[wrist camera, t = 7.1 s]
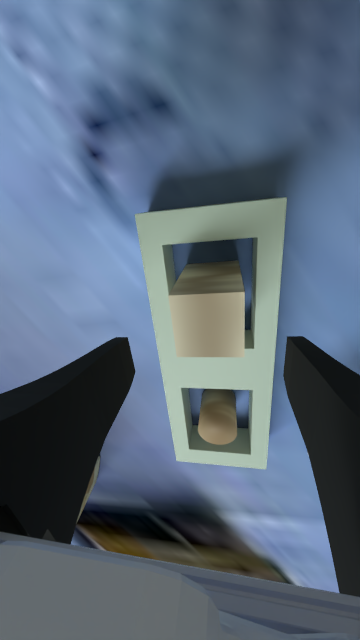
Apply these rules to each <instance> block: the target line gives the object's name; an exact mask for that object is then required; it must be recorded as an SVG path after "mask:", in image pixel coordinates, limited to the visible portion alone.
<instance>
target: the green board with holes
mask: <svg viewBox="0 0 360 640" xmlns="http://www.w3.org/2000/svg"><path fill="white" fill-rule="evenodd" d="M286 204H287V198H283V197H277V198H268V199H259V200H250V201H241V202H232V203H223V204H214V205H205V206H196V207H187V208H178V209H169V210H160V211H151V212H144V213H139V214H135V219H136V225H137V230H138V236H139V242H140V248H141V254H142V260H143V266H144V272H145V278H146V284H147V289H148V295H149V301H150V307H151V313H152V319H153V325H154V331H155V337H156V342H157V348H158V354H159V360H160V366H161V372H162V378H163V384H164V390H165V395H166V401H167V407H168V413H169V419H170V425H171V431H172V437H173V443H174V448H175V454H176V460H177V461H183V462H194V463H204V464H215V465H225V466H236V467H246V468H257V469H266V466H267V453H268V440H269V427H270V414H271V400H272V387H273V374H274V361H275V348H276V335H277V322H278V309H279V295H280V282H281V269H282V256H283V243H284V230H285V217H286ZM242 238H253V252H252V294H251V330H245V347H244V357H177V355H176V348H175V341H174V333H173V326H172V319H171V312H170V305H169V298H168V295H169V293H170V292H171V290H172V288H173V286H174V285H175V283H176V276H175V267H174V259H173V250H172V244H181V243H193V242H205V241H217V240H230V239H242ZM188 388H205V389H233V390H249V422H248V428H237V436H236V438H235V440H233V441H232V442H230V443H228V444H224V445H216V444H212V443H209V442H207V441H205V440H204V439H203V438H202V437H201V436H200V435H199V432H198V425H193V424H192V415H191V407H190V398H189V389H188Z"/></svg>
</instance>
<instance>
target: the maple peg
mask: <svg viewBox="0 0 360 640" xmlns="http://www.w3.org/2000/svg"><path fill="white" fill-rule="evenodd" d="M168 298H169V305H170V312H171V319H172V326H173V333H174V341H175V348H176V355H177V357H244V347H245V291H244V286H243V281H242V276H241V271H240V266H239V261H238V260H237V261H223V262H209V263H195V264H186V266H185V268H184V269H183V271H182V273H181V275H180V276H179V278H178V280H177V281H176V283H175V285H174V286H173V288H172V290H171V292H170V293H169V295H168Z"/></svg>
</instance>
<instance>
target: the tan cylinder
mask: <svg viewBox="0 0 360 640" xmlns="http://www.w3.org/2000/svg"><path fill="white" fill-rule="evenodd" d="M198 432H199V435H200V436H201V437H202V438H203V439H204V440H205V441H207V442H209V443H212V444H216V445H224V444H228V443H230V442H232V441H233V440H235V438H236V436H237V419H236V398H235V395H234V393H233V392H232V391H231V390H230V389H206V390H205V391H204V392H203V394H202V400H201V408H200V416H199V424H198Z"/></svg>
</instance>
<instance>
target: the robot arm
mask: <svg viewBox="0 0 360 640" xmlns="http://www.w3.org/2000/svg"><path fill="white" fill-rule="evenodd" d="M134 375H135V368H134V363H133V359H132V354H131V350H130V346H129V341H128V337H116V338H114V339H111V340H110V341H108V342H106V343H104V344H102V345H101V346H99V347H97V348H96V349H94V350H92V351H91V352H89V353H87V354H86V355H84V356H82V357H80V358H79V359H77V360H75V361H73V362H71V363H70V364H68V365H66V366H64V367H62V368H61V369H59V370H57V371H55V372H53V373H51V374H48V375H46V376H44V377H42V378H40V379H38V380H35V381H33V382H31V383H28V384H25V385H23V386H20V387H18V388H15V389H13V390H10V391H7V392H5V393H2V394H0V640H360V375H358V374H357V373H355V372H354V371H352V370H350V369H349V368H347V367H346V366H344V365H343V364H341V363H340V362H338V361H337V360H335V359H334V358H332V357H331V356H330V355H328V354H327V353H325V352H324V351H323V350H321V349H320V348H319V347H317V346H316V345H314V344H313V343H312V342H310V341H309V340H307V339H306V338H304V337H303V336H297V337H287V344H286V354H285V364H284V375H283V376H284V381H285V386H286V390H287V395H288V398H289V401H290V404H291V407H292V409H293V412H294V415H295V418H296V420H297V423H298V426H299V429H300V431H301V434H302V437H303V440H304V442H305V445H306V448H307V453H308V455H309V458H310V462H311V466H312V470H313V474H314V478H315V482H316V486H317V490H318V494H319V498H320V503H321V507H322V511H323V515H324V520H325V525H326V529H327V534H328V538H329V543H330V548H331V552H332V557H333V562H334V567H335V572H336V577H337V582H338V587H339V592H340V593H335V592H329V591H324V590H318V589H313V588H307V587H302V586H296V585H290V584H285V583H279V582H274V581H268V580H263V579H257V578H252V577H246V576H241V575H235V574H230V573H224V572H219V571H213V570H208V569H202V568H197V567H191V566H186V565H180V564H175V563H169V562H164V561H158V560H153V559H147V558H142V557H136V556H131V555H125V554H120V553H114V552H109V551H103V550H98V549H92V548H87V547H81V546H76V545H70V544H71V541H72V537H73V534H74V530H75V527H76V523H77V520H78V516H79V513H80V510H81V506H82V503H83V500H84V497H85V494H86V491H87V488H88V485H89V482H90V479H91V476H92V473H93V470H94V467H95V465H96V462H97V459H98V456H99V454H100V451H101V449H102V446H103V443H104V441H105V438H106V436H107V434H108V432H109V430H110V428H111V426H112V424H113V422H114V420H115V418H116V416H117V414H118V412H119V410H120V408H121V406H122V404H123V402H124V400H125V398H126V396H127V394H128V392H129V390H130V387H131V384H132V381H133V378H134Z"/></svg>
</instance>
